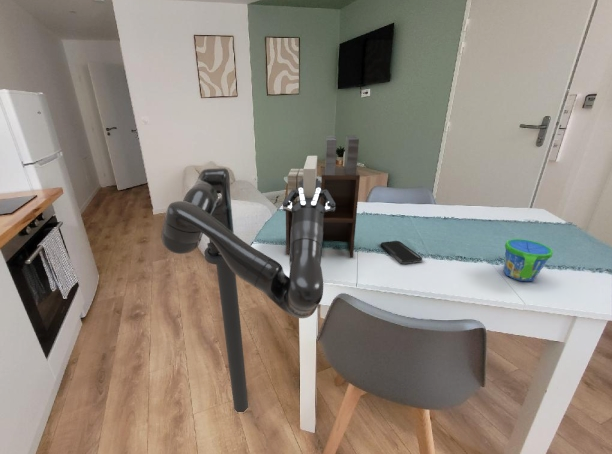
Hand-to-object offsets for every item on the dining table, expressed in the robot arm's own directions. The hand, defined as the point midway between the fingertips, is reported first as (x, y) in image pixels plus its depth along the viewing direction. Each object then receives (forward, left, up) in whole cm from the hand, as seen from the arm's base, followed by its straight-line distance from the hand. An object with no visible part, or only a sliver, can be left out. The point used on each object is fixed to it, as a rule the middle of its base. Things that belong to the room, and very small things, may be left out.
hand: (310, 181), depth 79 cm
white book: (+2, +3, -4) cm, 6 cm away
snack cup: (+56, -33, -33) cm, 72 cm away
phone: (+39, -4, -32) cm, 51 cm away
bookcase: (+18, +16, -32) cm, 40 cm away
